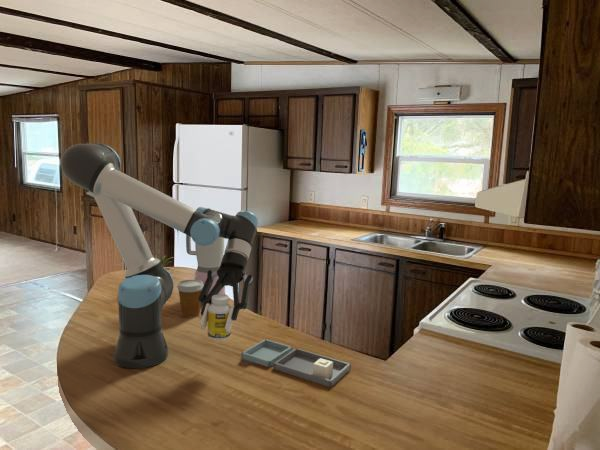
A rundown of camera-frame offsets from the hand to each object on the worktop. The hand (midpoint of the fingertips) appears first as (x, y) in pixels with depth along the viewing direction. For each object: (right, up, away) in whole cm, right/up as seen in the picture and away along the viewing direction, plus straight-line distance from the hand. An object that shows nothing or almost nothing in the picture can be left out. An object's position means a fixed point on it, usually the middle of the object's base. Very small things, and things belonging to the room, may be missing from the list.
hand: (214, 328), depth 130 cm
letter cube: (+30, -13, 0) cm, 32 cm away
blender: (-15, -2, +62) cm, 64 cm away
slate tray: (+13, -11, +12) cm, 22 cm away
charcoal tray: (+27, -13, +5) cm, 30 cm away
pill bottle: (0, -3, +4) cm, 5 cm away
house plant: (-35, 0, +69) cm, 77 cm away
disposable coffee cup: (-17, -5, +45) cm, 49 cm away
